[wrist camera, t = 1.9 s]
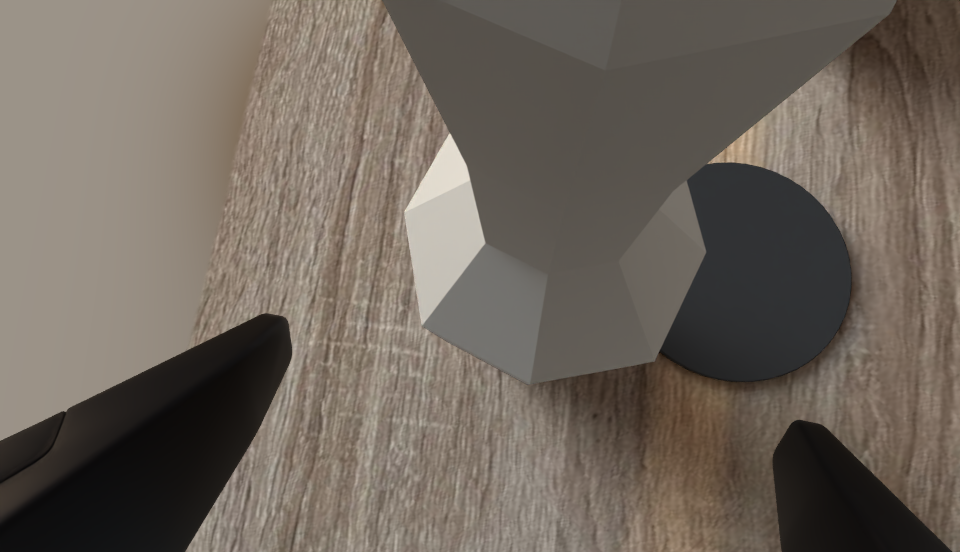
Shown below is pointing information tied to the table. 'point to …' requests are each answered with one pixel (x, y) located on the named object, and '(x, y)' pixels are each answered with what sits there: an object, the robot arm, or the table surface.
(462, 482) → the table surface
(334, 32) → the table surface
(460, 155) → the faceted bottle
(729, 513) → the table surface
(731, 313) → the coaster
